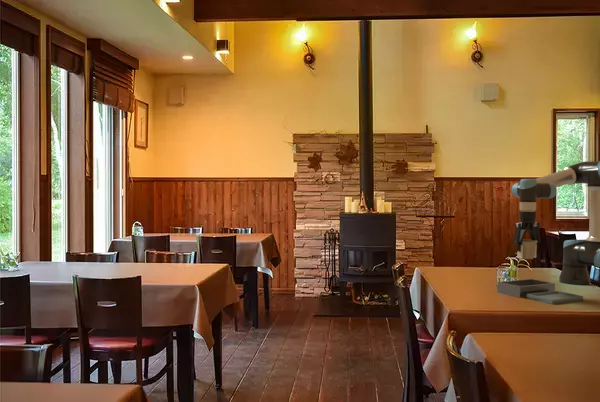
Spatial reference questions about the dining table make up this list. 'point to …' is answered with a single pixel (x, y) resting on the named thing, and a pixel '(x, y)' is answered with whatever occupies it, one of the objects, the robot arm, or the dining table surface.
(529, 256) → the flower pot
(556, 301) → the tray
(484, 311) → the dining table surface
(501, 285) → the metal holder
